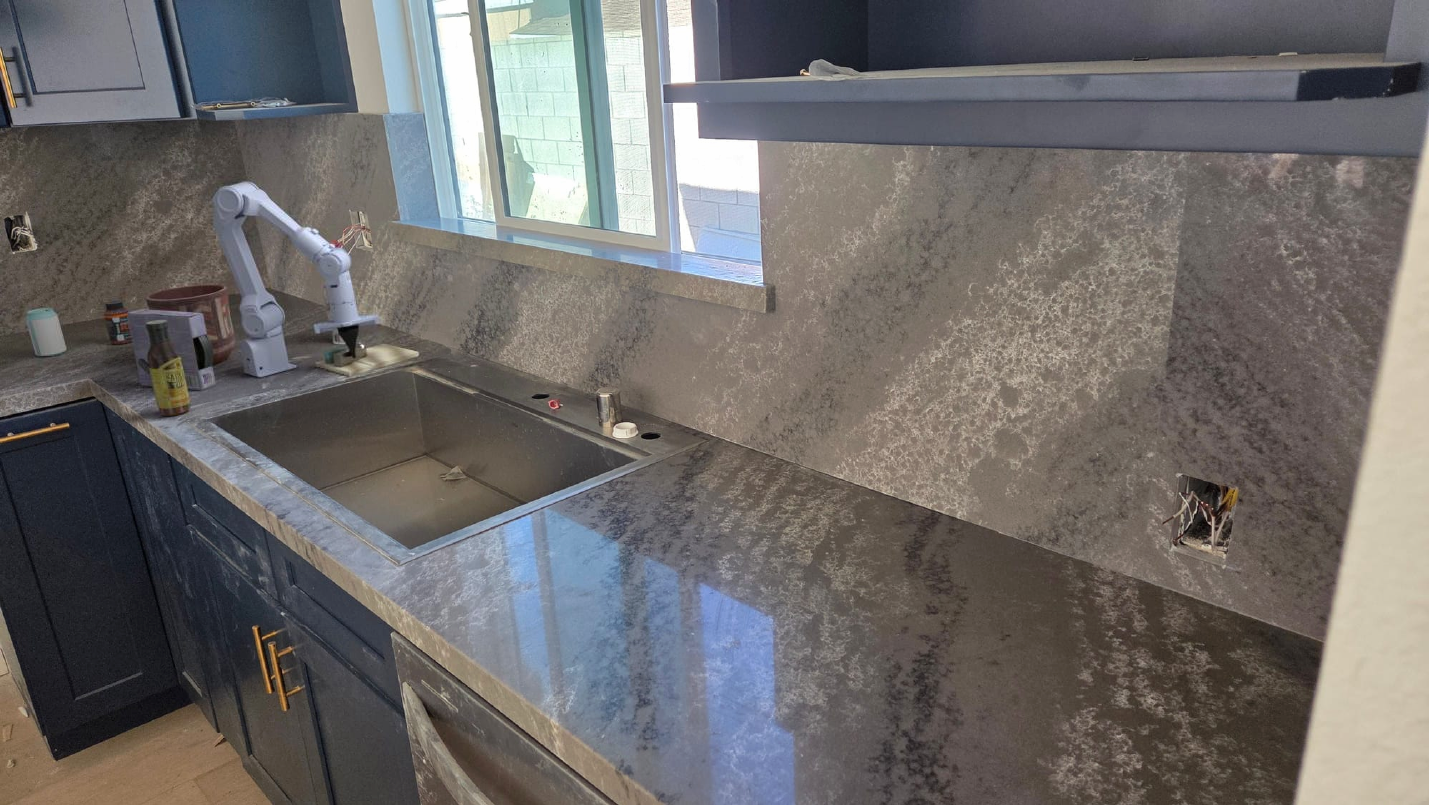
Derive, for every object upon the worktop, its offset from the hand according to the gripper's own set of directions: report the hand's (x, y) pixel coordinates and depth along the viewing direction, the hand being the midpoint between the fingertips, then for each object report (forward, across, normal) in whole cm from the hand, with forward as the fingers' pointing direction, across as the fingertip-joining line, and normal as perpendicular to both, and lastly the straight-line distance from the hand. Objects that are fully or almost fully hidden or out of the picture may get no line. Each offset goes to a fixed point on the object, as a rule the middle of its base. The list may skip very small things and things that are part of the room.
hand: (354, 357), depth 239 cm
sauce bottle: (+2, -37, -16) cm, 40 cm away
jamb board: (+2, +3, +4) cm, 6 cm away
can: (-1, -76, +55) cm, 94 cm away
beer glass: (+2, -2, +27) cm, 28 cm away
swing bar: (+1, -1, +2) cm, 3 cm away
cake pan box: (+1, -39, +5) cm, 39 cm away
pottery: (+1, -36, +26) cm, 44 cm away
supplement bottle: (0, -60, +59) cm, 84 cm away
